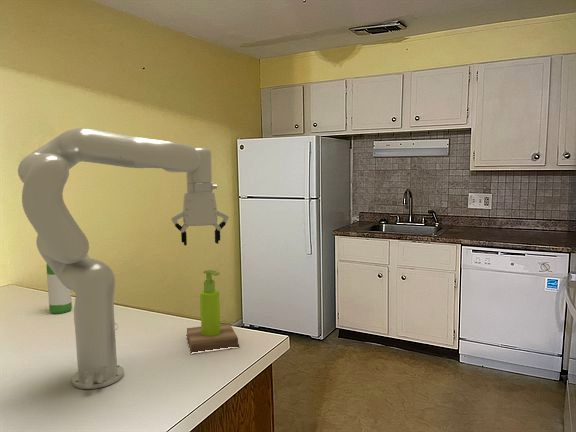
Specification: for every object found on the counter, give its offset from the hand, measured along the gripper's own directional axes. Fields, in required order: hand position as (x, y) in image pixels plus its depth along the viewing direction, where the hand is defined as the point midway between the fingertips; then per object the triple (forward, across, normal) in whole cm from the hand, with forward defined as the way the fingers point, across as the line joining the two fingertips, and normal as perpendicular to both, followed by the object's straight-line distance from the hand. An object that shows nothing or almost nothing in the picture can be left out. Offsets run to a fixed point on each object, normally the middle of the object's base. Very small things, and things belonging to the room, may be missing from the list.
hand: (201, 243), depth 138 cm
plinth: (+31, -2, +1) cm, 32 cm away
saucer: (+32, +32, -22) cm, 50 cm away
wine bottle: (+32, +50, -48) cm, 76 cm away
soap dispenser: (+29, -2, +1) cm, 29 cm away
